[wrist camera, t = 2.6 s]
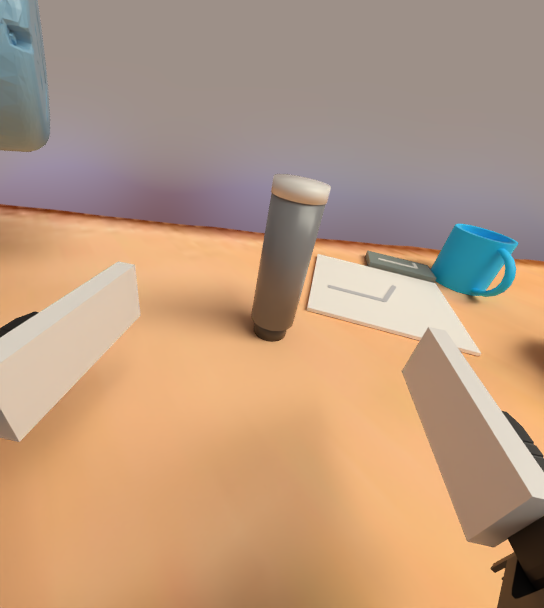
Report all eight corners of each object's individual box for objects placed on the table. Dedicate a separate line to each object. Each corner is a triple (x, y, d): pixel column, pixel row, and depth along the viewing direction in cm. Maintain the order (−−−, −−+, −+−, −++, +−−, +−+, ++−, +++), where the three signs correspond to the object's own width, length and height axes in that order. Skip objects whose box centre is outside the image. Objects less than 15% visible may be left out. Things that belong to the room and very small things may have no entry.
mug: (419, 267, 47) (444, 220, 43) (462, 274, 48) (490, 228, 44) (463, 307, 37) (501, 251, 33) (515, 314, 38) (559, 260, 34)
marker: (243, 337, 24) (268, 178, 17) (254, 313, 27) (279, 171, 20) (286, 349, 24) (329, 192, 17) (292, 324, 27) (331, 183, 20)
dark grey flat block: (367, 267, 42) (370, 261, 42) (365, 256, 47) (367, 250, 46) (433, 284, 42) (436, 277, 41) (424, 270, 46) (427, 264, 45)
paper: (306, 310, 29) (307, 306, 29) (317, 256, 43) (318, 253, 42) (479, 356, 28) (482, 352, 28) (434, 285, 41) (435, 282, 41)
